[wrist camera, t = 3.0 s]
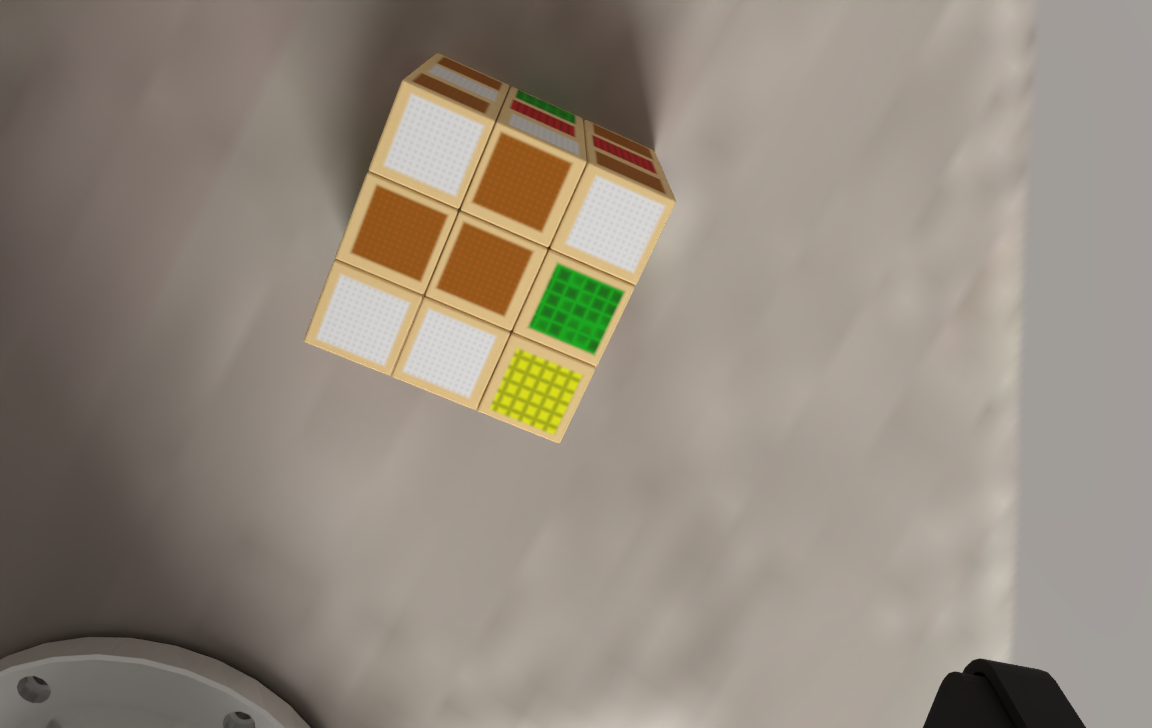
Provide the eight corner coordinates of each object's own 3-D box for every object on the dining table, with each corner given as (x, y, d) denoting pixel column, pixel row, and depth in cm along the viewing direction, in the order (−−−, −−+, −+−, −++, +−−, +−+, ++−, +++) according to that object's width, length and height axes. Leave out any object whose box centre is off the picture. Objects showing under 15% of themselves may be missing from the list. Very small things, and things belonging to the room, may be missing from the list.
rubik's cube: (560, 352, 27) (559, 444, 22) (353, 266, 27) (302, 342, 22) (655, 150, 26) (676, 200, 21) (436, 51, 25) (402, 78, 20)
